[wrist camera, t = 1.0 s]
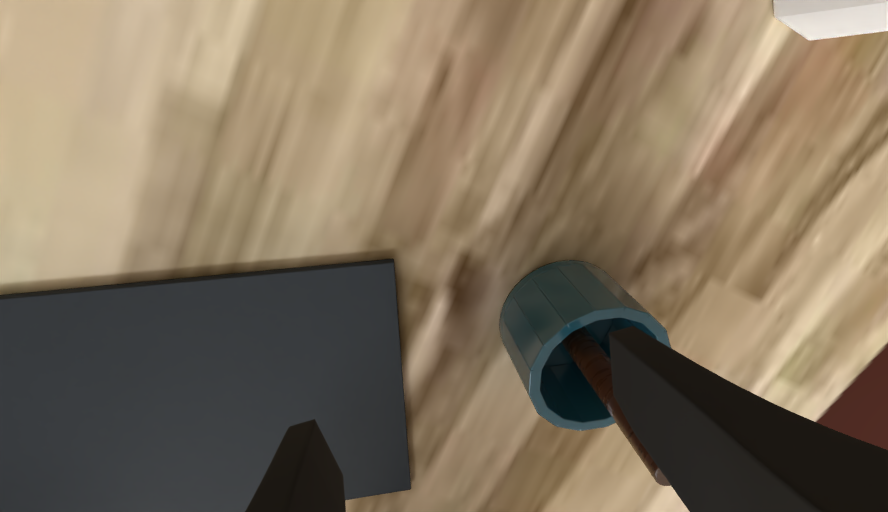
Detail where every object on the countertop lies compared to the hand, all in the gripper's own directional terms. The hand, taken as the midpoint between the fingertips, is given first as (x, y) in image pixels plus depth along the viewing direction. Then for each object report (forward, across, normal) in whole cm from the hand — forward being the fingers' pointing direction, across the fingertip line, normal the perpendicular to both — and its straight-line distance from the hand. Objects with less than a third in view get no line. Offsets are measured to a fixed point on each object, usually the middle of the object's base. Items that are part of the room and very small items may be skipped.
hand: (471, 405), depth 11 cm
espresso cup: (+10, -6, +6) cm, 13 cm away
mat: (+10, +14, +6) cm, 18 cm away
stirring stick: (+10, -6, +6) cm, 13 cm away
